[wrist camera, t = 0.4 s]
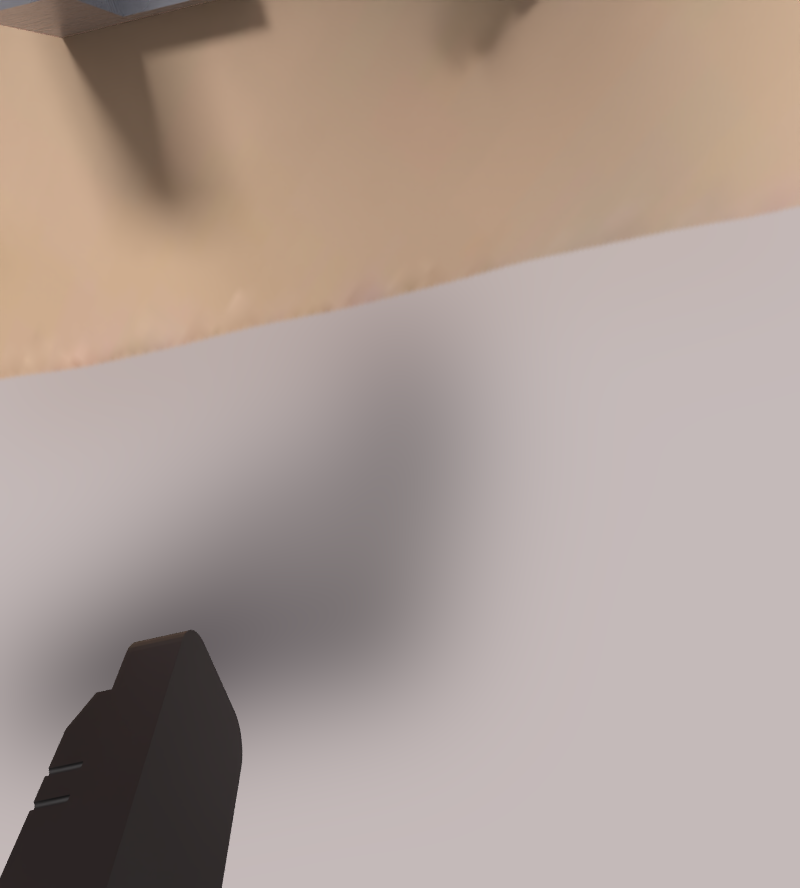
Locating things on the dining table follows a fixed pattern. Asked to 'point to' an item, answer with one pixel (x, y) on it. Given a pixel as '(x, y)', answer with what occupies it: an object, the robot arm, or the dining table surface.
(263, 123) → the dining table surface
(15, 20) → the bracket
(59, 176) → the dining table surface
